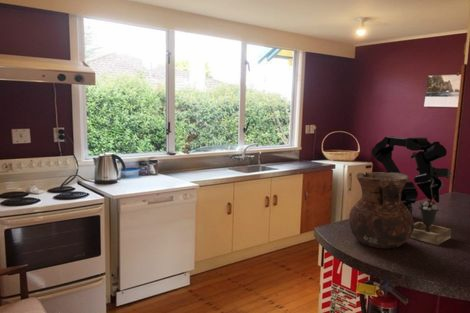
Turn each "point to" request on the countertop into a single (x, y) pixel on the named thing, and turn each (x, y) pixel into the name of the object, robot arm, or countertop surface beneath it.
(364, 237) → the jug
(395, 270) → the countertop surface
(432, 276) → the countertop surface
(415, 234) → the cream square tray
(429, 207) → the sundae
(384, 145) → the robot arm
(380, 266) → the countertop surface
